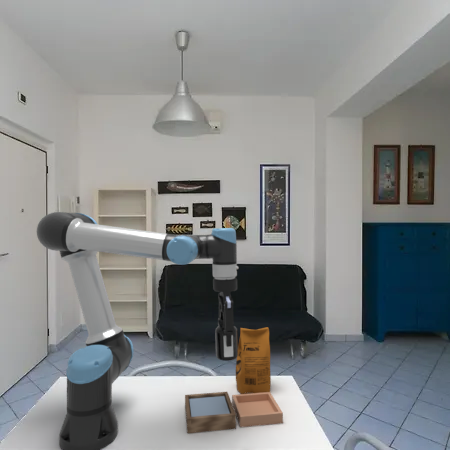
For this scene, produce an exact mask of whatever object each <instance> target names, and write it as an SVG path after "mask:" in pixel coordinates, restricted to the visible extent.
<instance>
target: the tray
mask: <svg viewBox="0 0 450 450" xmlns="http://www.w3.org/2000/svg"><path fill="white" fill-rule="evenodd" d="M231 403H232V406H233V409H234V411H235V414H236V420H237V421H238V423H239V424H238V425H239V427H240V428H245V427H246V428H247V427H248V428H249V427H256V426H267V425H279V424H283V423H284V412H283V411H282V409H281V407H280V406H279V404H278V403H277V401H276V400H275V398H274V396H273V394H272V393H271V391H270V392H264V393H247V394H240V393H239V394H232V395H231Z"/></svg>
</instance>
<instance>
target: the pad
mask: <svg viewBox="0 0 450 450" xmlns="http://www.w3.org/2000/svg"><path fill="white" fill-rule="evenodd" d="M189 404H190V413H191V417H196V416H207V415H218V414H229V413H230V412H229V409H228V406H227V403H226V400H225V397H224V396H218V397H206V398H193V399H189Z"/></svg>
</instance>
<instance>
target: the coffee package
mask: <svg viewBox="0 0 450 450" xmlns="http://www.w3.org/2000/svg"><path fill="white" fill-rule="evenodd" d="M239 333H240V336H239V340H238V356H237V358H236V362H235V383H236V386H237V387H236V388H237V391H238V393H239V394H252V393H264V392H270V393H271V380H272V379H271V377H272V376H271V344H270V329H269V327H262V328H258V329H257V328H256V329H249V328H245V327H244V328H243V327H240V332H239Z"/></svg>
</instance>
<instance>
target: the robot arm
mask: <svg viewBox="0 0 450 450" xmlns="http://www.w3.org/2000/svg"><path fill="white" fill-rule="evenodd" d="M36 238H37V239H38V242H40V244H41V245H42V246H43V247H44V248H46V249H48V250H50V251H58V252H59V254H60V258H61V260H63V261H65V262H66V263H68V267H69V270H70V274H71V277H72V280H73V285H74V287H75V291H76V294H77V299H78V302H79V305H80V308H81V313H82V316H83V319H84V324H85V326H86V331H87V334H88V336H87V338H86V340H85V347H81V348H79V349H77V350H75V351H74V352H73V353H72V354H70V356H69V358H68V360H67V366H66V372H65V373H66V414H65V417H64V420H63V422H62V425H61V429H60V431H59V438H58V440H59V447H60V448H61V450H101V449H103V448H105V447H106V446H108V445H109V444H111V443H112V442H113V441H114V440H115V439H116V437H117V435H118V432H119V424H118V423H119V421H118V419H117V418H118V417H117V416H116V413H115V410H114V407H113V403H112V401H113V400H112V398H113V397H112V395H113V394H112V392H113V391H112V390H113V387H112V386H113V384H114V382H115V381H116V380H117V379H118V378H119V377H120V376H121V375H122V374H123V373H124V372H126V371H127V369H128V368H129V365H130V364H131V362H132V361H133V358H134V356H135V355H134V354H135V349H134V344H133V341H132V340H131V338H129V337H128V336H126V335H125V332H124V330H123V328H122V327H121V326H119V325H117V323H116V320H115V319H116V318H115V316H114V313H113V310H112V305H111V302H110V299H109V295H108V292H107V289H106V286H105V282H104V278H103V275H102V272H101V271H102V270H101V267H100V263H99V260H98V258H97V254H98V252H100V253H107V254H115V255H122V256H129V257H130V256H131V257H136V258H142V259H143V258H145V259H151V260H157V261H158V260H159V261H166V262H171V263H174V264H176V265H182V266H183V265H189V264H190V263H192V262H193V261H194V260H205V259H207V260H211V259H212V264H211V265H212V277H213V279H212V286H213V287H212V290H214V292H216V293H217V292H218V294H217V295H218V318H220V317H223V321H224V334H222V336H224V357H233V335H234V326H235V321H234V320H235V319H234V298H233V296H232V295H231V292H235V291H237V290H238V279H237V276H238V271H237V270H239V266H238V264H237V263H238V261H237V260H238V259H237V252H238V251H237V247H238V246H237V243H238V242H237V233H236V229H234V228H233V227H225V228H224V227H222V228H219V227H218V228H212V230H211V234H181V235H180V234H174V233H173V234H172V233H164V232H157V231H149V230H143V229H137V228H136V229H135V228H128V227H127V228H126V227H120V226H114V225H113V226H111V225H105V224H98V223H97V221H96V220H95V219H94V218H93V217H91V216H90V215H87V214H84V213H81V212H64V211H54V212H51V213H48V214H46V215H45V216H44V217H42V218H41V219H40V220H39V222H38V224H37V226H36Z"/></svg>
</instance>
